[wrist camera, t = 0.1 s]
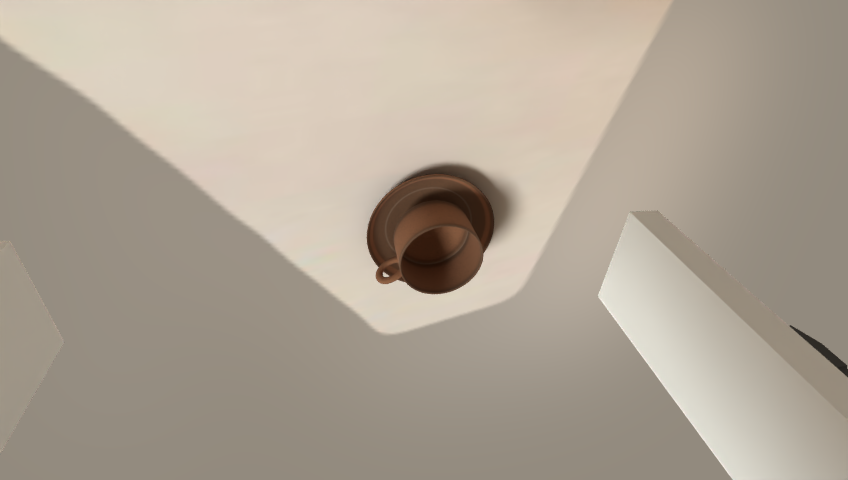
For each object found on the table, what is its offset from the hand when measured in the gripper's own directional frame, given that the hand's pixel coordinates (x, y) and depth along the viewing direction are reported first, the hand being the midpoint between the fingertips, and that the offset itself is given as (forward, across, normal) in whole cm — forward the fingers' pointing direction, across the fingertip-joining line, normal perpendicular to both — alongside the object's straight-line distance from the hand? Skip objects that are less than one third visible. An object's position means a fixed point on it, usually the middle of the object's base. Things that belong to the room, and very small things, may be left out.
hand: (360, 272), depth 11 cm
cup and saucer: (+28, +9, -17) cm, 34 cm away
